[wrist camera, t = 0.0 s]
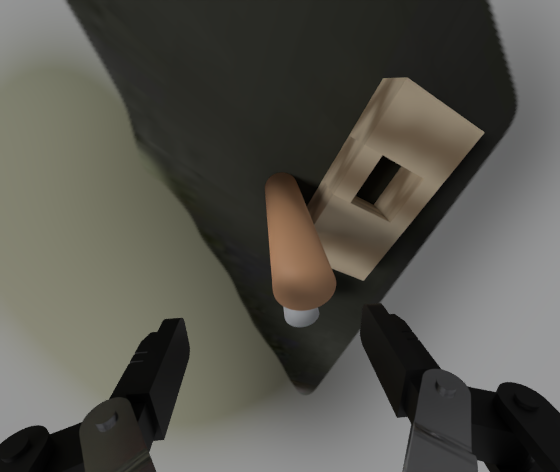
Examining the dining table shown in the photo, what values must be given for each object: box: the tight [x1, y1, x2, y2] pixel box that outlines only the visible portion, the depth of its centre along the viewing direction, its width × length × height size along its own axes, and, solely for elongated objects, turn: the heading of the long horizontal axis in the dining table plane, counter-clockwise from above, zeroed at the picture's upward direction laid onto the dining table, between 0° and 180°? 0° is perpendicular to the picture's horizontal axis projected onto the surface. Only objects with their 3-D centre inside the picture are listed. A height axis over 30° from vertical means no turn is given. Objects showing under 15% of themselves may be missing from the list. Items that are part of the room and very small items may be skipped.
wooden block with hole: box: [307, 78, 485, 281], centre depth 31 cm, size 20×10×5 cm, turn 153°
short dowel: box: [283, 306, 319, 327], centre depth 34 cm, size 4×4×9 cm
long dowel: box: [265, 172, 336, 311], centre depth 24 cm, size 4×4×18 cm
